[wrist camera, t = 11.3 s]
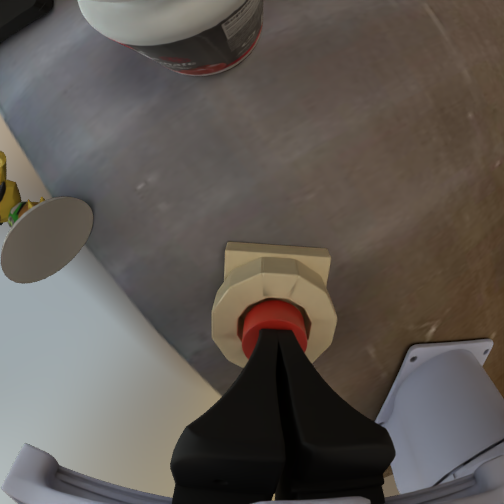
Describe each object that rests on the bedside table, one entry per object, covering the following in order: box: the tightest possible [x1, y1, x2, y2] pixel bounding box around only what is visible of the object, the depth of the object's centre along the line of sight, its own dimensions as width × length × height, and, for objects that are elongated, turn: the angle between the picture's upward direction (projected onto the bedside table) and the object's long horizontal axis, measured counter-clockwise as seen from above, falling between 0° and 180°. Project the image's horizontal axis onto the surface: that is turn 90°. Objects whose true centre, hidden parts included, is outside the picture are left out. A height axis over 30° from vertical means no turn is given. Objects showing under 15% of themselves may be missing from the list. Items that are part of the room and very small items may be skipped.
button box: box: [212, 242, 337, 368], centre depth 15 cm, size 6×6×3 cm
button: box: [242, 300, 307, 360], centre depth 14 cm, size 3×3×2 cm
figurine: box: [0, 151, 93, 283], centre depth 14 cm, size 6×6×8 cm
